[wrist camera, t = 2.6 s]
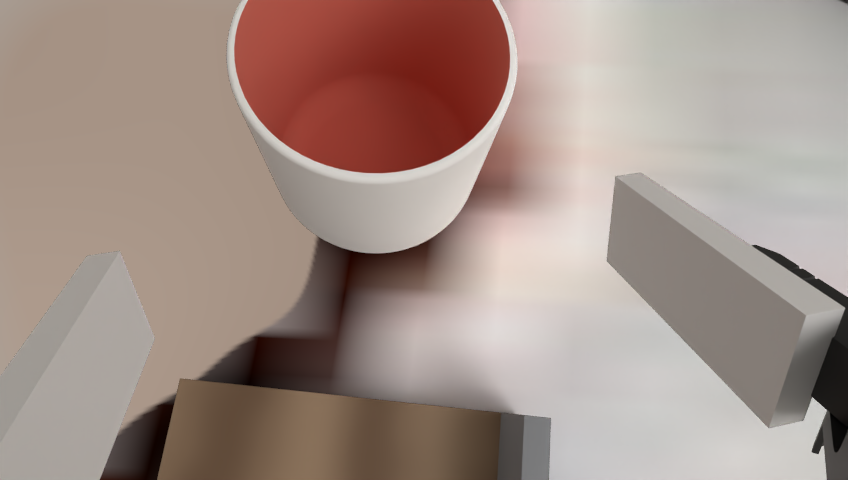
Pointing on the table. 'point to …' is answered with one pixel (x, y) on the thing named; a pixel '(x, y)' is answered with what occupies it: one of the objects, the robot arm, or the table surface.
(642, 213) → the robot arm
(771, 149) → the table surface
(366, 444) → the pen base
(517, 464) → the pen walls
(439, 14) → the cup
